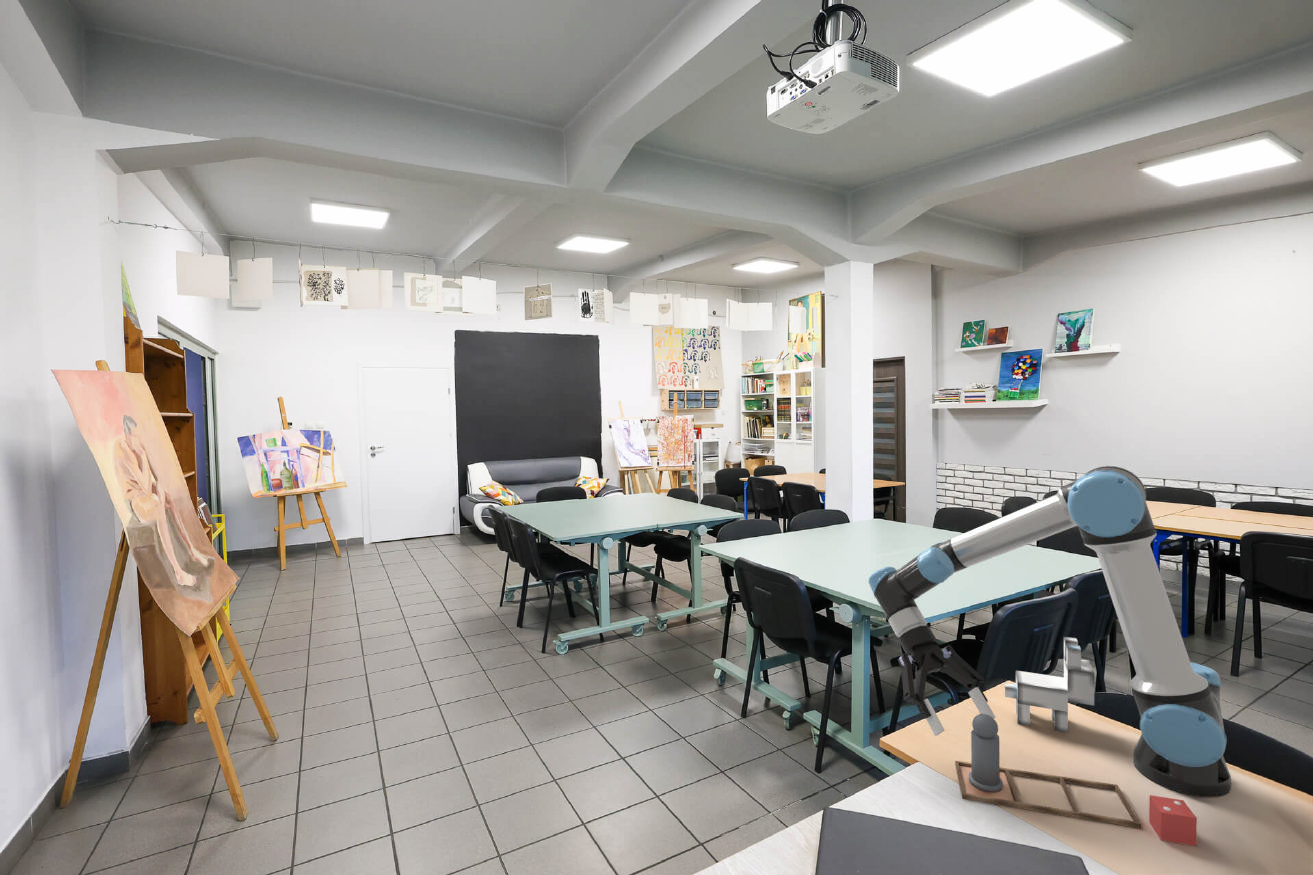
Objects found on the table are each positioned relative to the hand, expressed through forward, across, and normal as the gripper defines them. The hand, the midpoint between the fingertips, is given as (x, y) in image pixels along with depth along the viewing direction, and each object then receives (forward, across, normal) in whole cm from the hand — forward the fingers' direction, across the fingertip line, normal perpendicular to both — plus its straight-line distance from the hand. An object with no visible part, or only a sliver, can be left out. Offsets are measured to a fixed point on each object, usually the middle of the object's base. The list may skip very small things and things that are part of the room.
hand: (965, 726), depth 128 cm
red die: (+26, -18, +13) cm, 34 cm away
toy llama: (+1, -33, -13) cm, 36 cm away
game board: (+14, -7, +1) cm, 16 cm away
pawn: (+10, 0, -3) cm, 10 cm away
